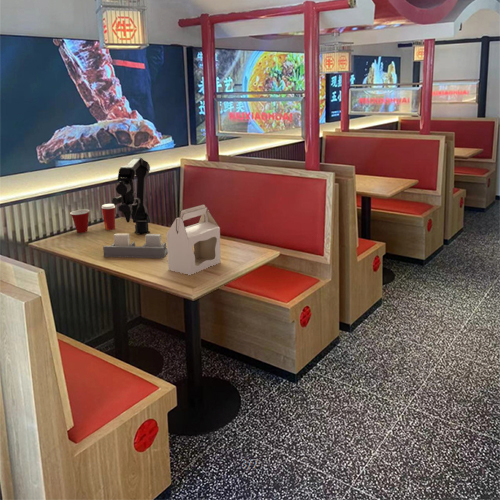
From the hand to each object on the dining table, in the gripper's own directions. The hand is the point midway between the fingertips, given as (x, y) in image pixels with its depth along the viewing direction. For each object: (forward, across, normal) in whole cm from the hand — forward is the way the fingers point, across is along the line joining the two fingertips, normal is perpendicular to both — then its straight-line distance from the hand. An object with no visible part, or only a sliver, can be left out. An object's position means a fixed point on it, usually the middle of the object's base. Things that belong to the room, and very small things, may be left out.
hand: (130, 220), depth 288 cm
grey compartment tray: (+12, +19, +8) cm, 24 cm away
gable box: (+12, +36, +41) cm, 56 cm away
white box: (+11, +17, +16) cm, 26 cm away
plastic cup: (+12, -18, -35) cm, 41 cm away
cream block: (+11, +17, 0) cm, 20 cm away
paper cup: (+12, -25, -21) cm, 35 cm away
